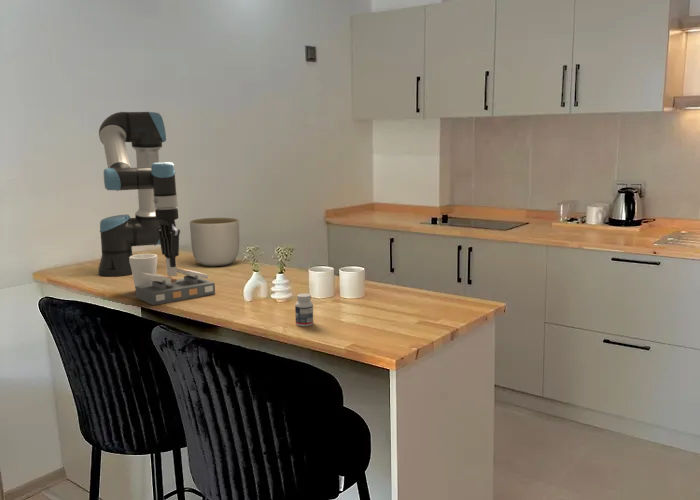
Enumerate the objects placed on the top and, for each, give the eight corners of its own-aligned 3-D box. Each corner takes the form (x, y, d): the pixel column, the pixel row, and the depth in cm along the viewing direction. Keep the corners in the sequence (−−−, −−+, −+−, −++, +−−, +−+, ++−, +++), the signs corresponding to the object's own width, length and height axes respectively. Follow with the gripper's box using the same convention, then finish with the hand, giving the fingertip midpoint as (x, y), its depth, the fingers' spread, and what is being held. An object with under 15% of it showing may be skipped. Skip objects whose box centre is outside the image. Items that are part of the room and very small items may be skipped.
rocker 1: (140, 278, 223) (142, 272, 223) (165, 281, 229) (166, 275, 229) (151, 282, 217) (152, 276, 217) (175, 285, 223) (177, 279, 223)
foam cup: (162, 292, 233) (159, 257, 230) (135, 296, 228) (133, 259, 226) (155, 287, 241) (152, 252, 238) (129, 290, 236) (126, 255, 234)
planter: (235, 268, 274) (234, 223, 270) (186, 268, 274) (184, 224, 271) (244, 259, 294) (242, 217, 291) (198, 259, 294) (196, 217, 291)
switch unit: (136, 297, 226) (135, 281, 225) (196, 287, 241) (195, 272, 240) (153, 305, 215) (152, 288, 214) (215, 294, 230) (214, 278, 229)
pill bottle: (295, 321, 195) (295, 293, 194) (313, 321, 196) (312, 292, 194) (295, 326, 190) (295, 297, 189) (313, 326, 191) (313, 296, 189)
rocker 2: (173, 272, 231) (174, 267, 231) (195, 276, 237) (197, 271, 237) (184, 276, 225) (185, 270, 225) (207, 280, 231) (208, 275, 231)
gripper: (147, 207, 224) (153, 274, 228) (164, 210, 214) (170, 280, 219) (167, 205, 229) (173, 271, 233) (185, 208, 219) (191, 276, 223)
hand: (172, 275), depth 226 cm, fingers closed
